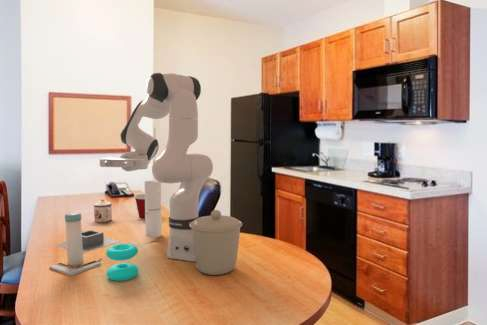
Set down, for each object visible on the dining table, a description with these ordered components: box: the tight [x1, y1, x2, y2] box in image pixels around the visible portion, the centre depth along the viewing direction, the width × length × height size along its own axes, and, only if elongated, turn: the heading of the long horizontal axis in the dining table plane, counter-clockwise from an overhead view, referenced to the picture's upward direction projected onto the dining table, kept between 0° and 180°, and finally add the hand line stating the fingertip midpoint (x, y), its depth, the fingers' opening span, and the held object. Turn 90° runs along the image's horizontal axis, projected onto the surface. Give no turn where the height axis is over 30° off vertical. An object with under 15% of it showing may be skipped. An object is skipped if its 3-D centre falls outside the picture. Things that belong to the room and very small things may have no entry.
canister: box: [190, 209, 243, 276], centre depth 128 cm, size 18×18×21 cm
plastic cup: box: [134, 193, 145, 219], centre depth 206 cm, size 11×11×12 cm
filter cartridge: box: [64, 212, 84, 267], centre depth 130 cm, size 5×5×18 cm
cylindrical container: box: [144, 180, 162, 238], centre depth 169 cm, size 7×7×25 cm
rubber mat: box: [48, 260, 102, 276], centre depth 131 cm, size 12×12×1 cm
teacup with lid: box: [93, 198, 113, 223], centre depth 196 cm, size 12×9×12 cm
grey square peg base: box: [56, 229, 121, 254], centre depth 153 cm, size 18×18×6 cm
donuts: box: [105, 243, 139, 282], centre depth 122 cm, size 10×10×10 cm
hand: (115, 164), depth 155 cm, fingers open, 8 cm apart
